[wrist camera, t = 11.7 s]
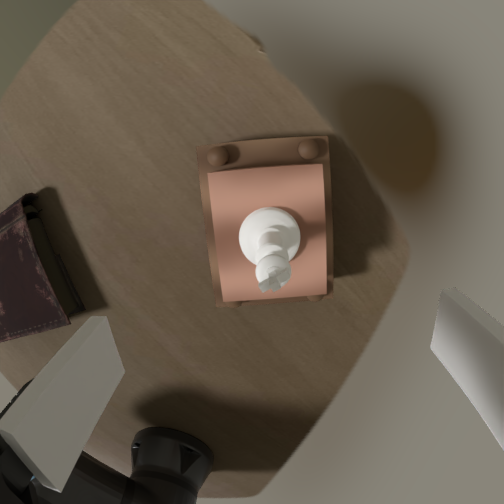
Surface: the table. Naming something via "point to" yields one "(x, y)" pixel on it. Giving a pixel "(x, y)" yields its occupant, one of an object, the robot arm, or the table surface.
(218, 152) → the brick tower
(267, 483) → the table surface
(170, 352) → the table surface
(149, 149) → the table surface
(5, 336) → the diary
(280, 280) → the chess piece
